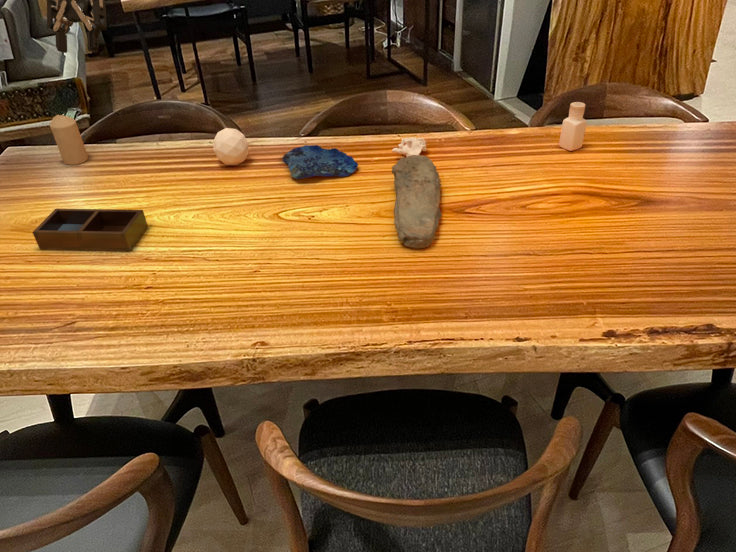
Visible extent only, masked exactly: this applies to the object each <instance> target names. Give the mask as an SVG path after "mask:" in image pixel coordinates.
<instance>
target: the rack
mask: <svg viewBox="0 0 736 552" xmlns="http://www.w3.org/2000/svg"><path fill="white" fill-rule="evenodd" d="M148 228H149V225H148V221H147V218H146V216H145V212H144V209H114V208H113V209H112V208H111V209H109V208H107V209H105V208H54V210H52V212H50V214H49V215H48V216H47V217H46V218H44V219H43V221H42V222H41V223H40V224H39V225H37V227H36V228H35V229H34V230H33V231H32V235H33V237H34V240H35V241H36V244H37V246H38V248H39V250H42V251H43V250H46V251H47V250H49V251H89V252H90V251H93V252H94V251H95V252H97V251H98V252H131V251H132V250H133V249H134V248H135V246H136V245H137V243H138V242H139V240H140V239H141V237H143V235H144V233H145V232H146V231H147V229H148Z"/></svg>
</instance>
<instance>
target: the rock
mask: <svg viewBox="0 0 736 552" xmlns="http://www.w3.org/2000/svg"><path fill="white" fill-rule="evenodd" d="M282 161H283V163H285V164H286V165H288V166H287V167H288V169H289V171H290V177H291V178H294V179H296V180H302V179H306V178H311V177H315V176H317V177H347V176H350V175H352V174H353V173H354V172H355V171H356V170H357V168H358V166H359V163H358V162H357V161H355V159H354V158H353V156H350V155H347V153H346V152H344V151H340V150H339V149H338V148H336V147H334V148H333V147H332V148H331V149H329V148H328V149H327V148H323V147H321V146H320V145H318V144H311V145H308V144H305V145H302V146H298V147H294V148H292V149H291V150H289V151H287V152H286V153H285V154H284V155H283V156H282Z"/></svg>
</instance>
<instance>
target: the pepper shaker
mask: <svg viewBox="0 0 736 552" xmlns="http://www.w3.org/2000/svg"><path fill="white" fill-rule="evenodd" d="M585 110H586V103H584V102H581V101H575V102H573V101H572V102H571V103H570V104H569V110H568V117H566V118H564V119H563V121H562V124H561V131H560V136H559V140H558V141H559V142H558V146H559V148H562V149H564V150H566V151H569V152H572V151H575V150H578V149H581V148H582V147H583V143H584V139H585V134H586V128H587V124H588V121H587V120H586V119H585V118H584V114H585Z"/></svg>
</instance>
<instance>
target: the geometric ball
mask: <svg viewBox="0 0 736 552" xmlns="http://www.w3.org/2000/svg"><path fill="white" fill-rule="evenodd" d="M212 145H213V146H212V149H213V152H214V154H215V156H216V158H217V160H219V161H220V162H221V163H223V164H224V165H225V166H238V165H240V164H241V163H243V162H245V160H246V158H247V157H248V155H249V142H248V140H247V138H246V136H245V134H244V133H242V132H241V131H240V130H238V129H237V128H231V127H225V128H223V129H221V130H219V131H217V133H216V135H215V137H214V139H213V142H212Z"/></svg>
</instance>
